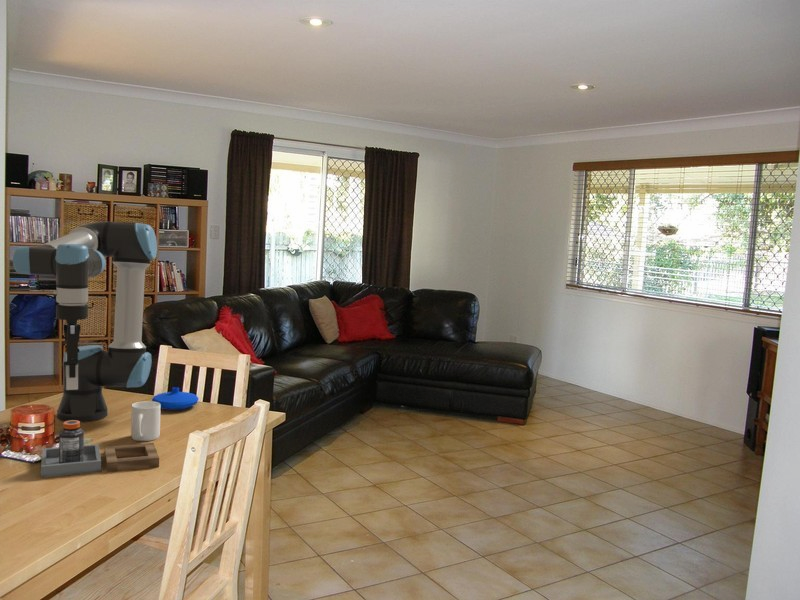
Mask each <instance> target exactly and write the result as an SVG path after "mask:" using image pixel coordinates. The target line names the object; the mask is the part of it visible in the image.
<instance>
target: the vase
mask: <svg viewBox="0 0 800 600" xmlns="http://www.w3.org/2000/svg"><path fill="white" fill-rule="evenodd" d="M171 389H172V391H168V392H162V393H159V394H155V395H154V396H153V397H152V399H151V401H154V402H158V403H160V404H161V409H163V410H171V411H175V410H176V411H177V410H185V409H189V408H191V407H193V406H195V405H197V404H198V401H199V397H198V396H197V394H194V393H191V392H187V391H186V392H185V391H180V387H179V386H178V387H177V386H175V387H172V388H171Z"/></svg>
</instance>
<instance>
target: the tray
mask: <svg viewBox="0 0 800 600" xmlns="http://www.w3.org/2000/svg"><path fill="white" fill-rule="evenodd" d="M100 452H101V451H100V444H99V443H96V444H84V461H82V462H71V463H61V464H59V446H58V447H46V448H42V449H41V461H40V464H41V465H40V478H41V479H43V478H54V477H65V476H75V475H84V474H85V475H86V474H94V473H102V457H101V453H100Z"/></svg>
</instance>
